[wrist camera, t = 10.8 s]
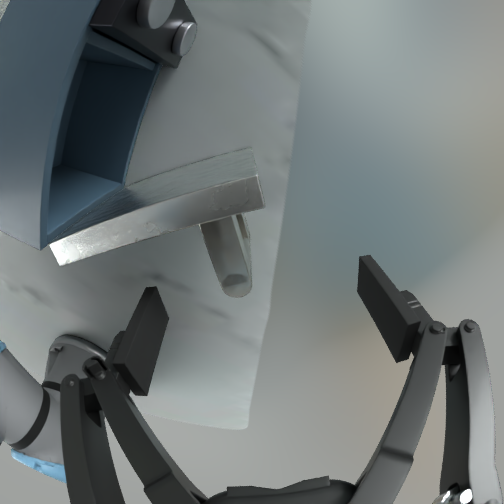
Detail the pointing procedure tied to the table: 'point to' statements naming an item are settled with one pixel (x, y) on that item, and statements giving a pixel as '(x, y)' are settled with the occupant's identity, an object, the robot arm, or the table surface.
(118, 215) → the microwave door
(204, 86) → the table surface
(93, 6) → the microwave
